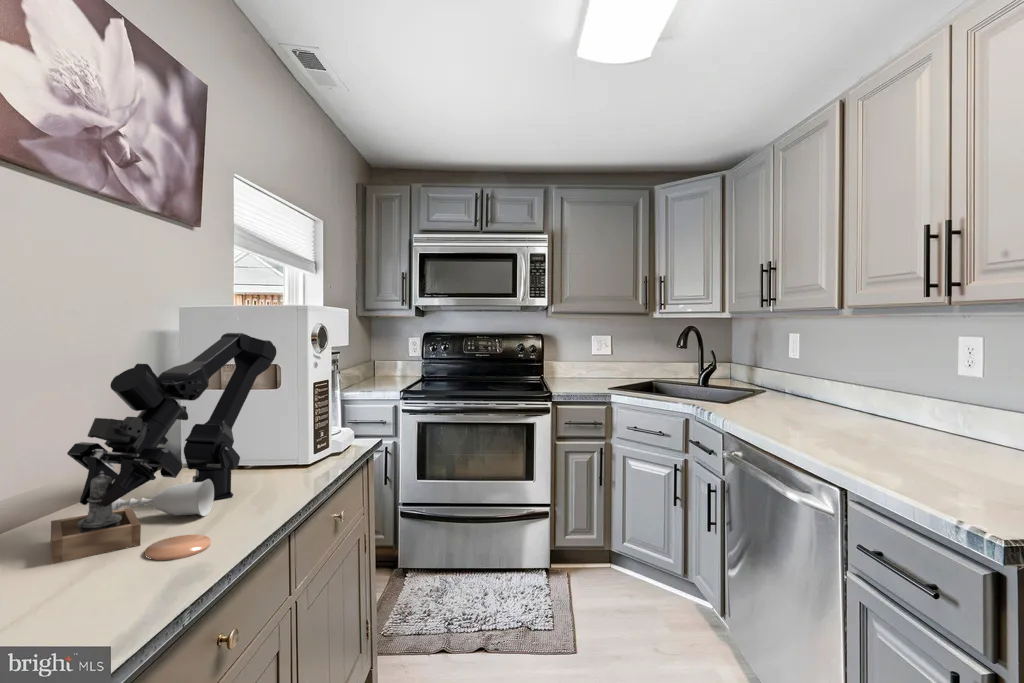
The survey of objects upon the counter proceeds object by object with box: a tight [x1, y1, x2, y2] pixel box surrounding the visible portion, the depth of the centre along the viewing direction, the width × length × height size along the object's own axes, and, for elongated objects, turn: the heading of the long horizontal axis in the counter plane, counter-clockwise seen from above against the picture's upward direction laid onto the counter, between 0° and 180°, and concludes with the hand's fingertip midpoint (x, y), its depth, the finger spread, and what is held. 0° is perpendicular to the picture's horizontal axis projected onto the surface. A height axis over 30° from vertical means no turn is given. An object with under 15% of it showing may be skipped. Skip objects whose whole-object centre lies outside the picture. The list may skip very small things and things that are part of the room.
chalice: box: [112, 479, 215, 517], centre depth 99 cm, size 7×7×18 cm
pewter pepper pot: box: [77, 470, 122, 533], centre depth 86 cm, size 6×6×12 cm
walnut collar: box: [50, 507, 142, 565], centre depth 86 cm, size 11×11×4 cm
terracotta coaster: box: [144, 534, 211, 561], centre depth 85 cm, size 9×9×1 cm
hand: (92, 504), depth 85 cm, fingers closed on pewter pepper pot, 4 cm apart
